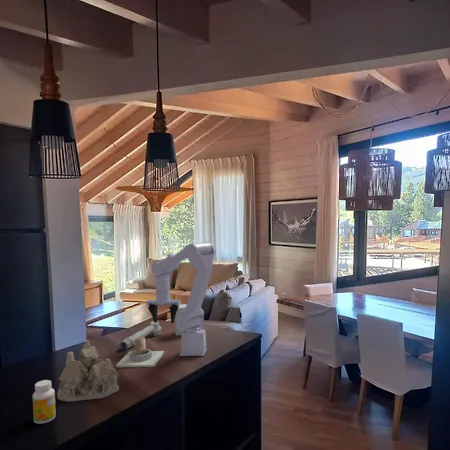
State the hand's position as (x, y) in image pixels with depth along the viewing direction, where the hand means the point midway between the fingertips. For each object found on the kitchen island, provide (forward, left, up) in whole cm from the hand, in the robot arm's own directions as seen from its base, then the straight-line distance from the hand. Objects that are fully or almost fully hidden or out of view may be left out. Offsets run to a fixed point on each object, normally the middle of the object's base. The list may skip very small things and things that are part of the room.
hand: (164, 322), depth 158 cm
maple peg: (+5, +17, -9) cm, 20 cm away
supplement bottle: (+18, +59, -10) cm, 62 cm away
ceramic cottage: (+13, +43, -10) cm, 46 cm away
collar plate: (+5, +17, -9) cm, 20 cm away
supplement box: (-5, -16, -10) cm, 19 cm away
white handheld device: (+12, -6, -10) cm, 16 cm away
